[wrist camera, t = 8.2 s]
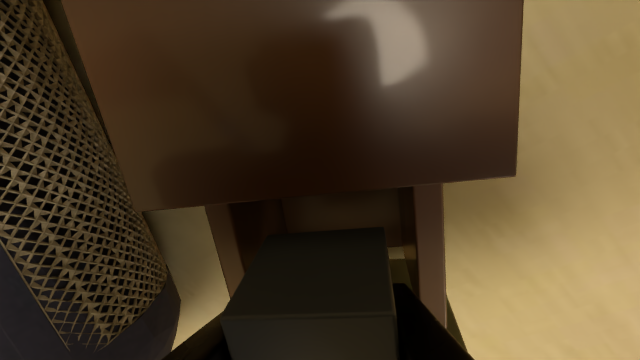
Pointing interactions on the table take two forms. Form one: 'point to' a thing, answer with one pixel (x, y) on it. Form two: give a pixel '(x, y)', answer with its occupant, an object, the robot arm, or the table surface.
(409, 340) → the robot arm
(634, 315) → the table surface
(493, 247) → the table surface
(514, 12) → the cabinet
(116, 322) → the portable speaker
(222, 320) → the block
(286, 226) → the drawer
